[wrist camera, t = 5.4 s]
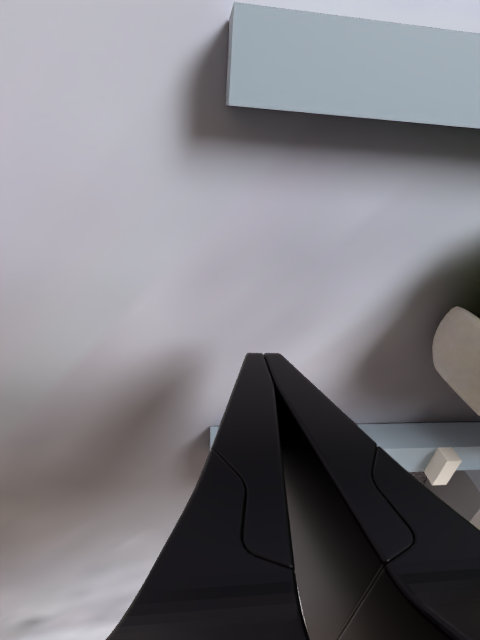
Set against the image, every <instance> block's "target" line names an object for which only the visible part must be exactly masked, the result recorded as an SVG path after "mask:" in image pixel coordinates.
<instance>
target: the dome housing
mask: <svg viewBox="0 0 480 640" xmlns="http://www.w3.org/2000/svg"><path fill="white" fill-rule="evenodd" d="M424 486H425V487H427V488H428V489H429V490H430V491H431V492H433V493H434V494H435V495H436V496H438V497H439V498H440V499H441V500H442V501H444V502H445V503H446V504H447V505H449V506H450V507H451V508H452V509H454V510H455V511H456V512H458V513H459V514H460V515H461V516H463V517H464V518H465V519H466V520H468V521H469V522H470V523H471V524H473V525H474V526H475V527H476V528H478V529H479V530H480V470H456V471H455V472H454V474H453V475H452V477H451V478H450V480H449V481H448V483H447V484H446V485H432V484H431V483H430V481H429V479H428V478H427V480H426V481H425V483H424Z"/></svg>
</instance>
